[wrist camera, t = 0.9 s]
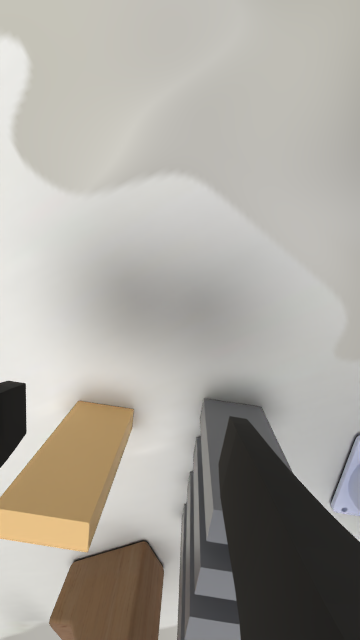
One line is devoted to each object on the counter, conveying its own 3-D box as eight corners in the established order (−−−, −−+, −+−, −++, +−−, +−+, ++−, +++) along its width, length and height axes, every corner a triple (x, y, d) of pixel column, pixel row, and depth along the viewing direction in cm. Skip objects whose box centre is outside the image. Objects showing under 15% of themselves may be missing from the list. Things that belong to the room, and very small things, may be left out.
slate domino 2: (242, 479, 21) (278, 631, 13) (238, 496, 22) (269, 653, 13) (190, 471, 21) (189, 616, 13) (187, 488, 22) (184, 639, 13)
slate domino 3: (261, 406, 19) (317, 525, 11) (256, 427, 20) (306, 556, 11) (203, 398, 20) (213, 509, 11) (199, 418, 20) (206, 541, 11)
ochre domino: (133, 409, 20) (89, 522, 11) (131, 428, 21) (87, 552, 12) (78, 400, 20) (-9, 507, 11) (77, 420, 21) (-6, 537, 12)
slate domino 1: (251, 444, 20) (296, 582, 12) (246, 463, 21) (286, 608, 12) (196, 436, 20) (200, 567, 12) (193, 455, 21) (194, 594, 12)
